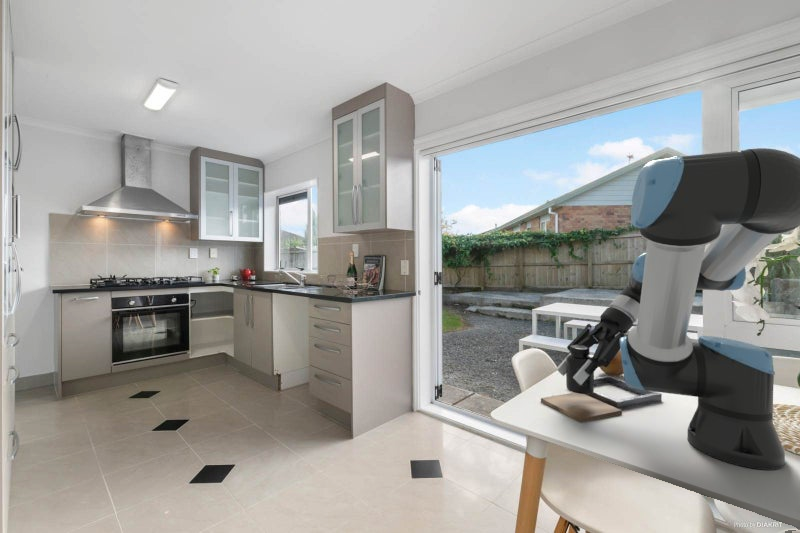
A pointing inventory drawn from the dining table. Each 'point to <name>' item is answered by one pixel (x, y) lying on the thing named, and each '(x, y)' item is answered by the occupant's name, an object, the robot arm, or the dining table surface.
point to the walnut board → (581, 406)
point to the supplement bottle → (573, 366)
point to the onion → (614, 366)
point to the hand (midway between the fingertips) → (568, 376)
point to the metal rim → (627, 402)
